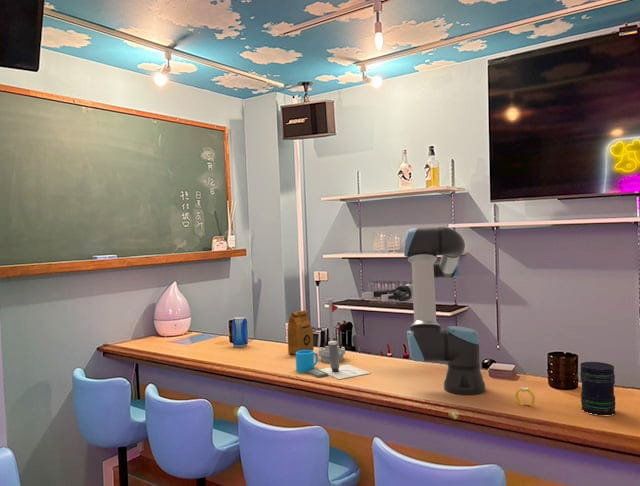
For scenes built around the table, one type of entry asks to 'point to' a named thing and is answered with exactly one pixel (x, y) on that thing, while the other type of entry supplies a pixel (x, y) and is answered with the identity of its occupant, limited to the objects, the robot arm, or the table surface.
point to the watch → (527, 391)
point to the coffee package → (299, 332)
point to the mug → (305, 360)
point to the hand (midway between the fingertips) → (371, 297)
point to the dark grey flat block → (317, 373)
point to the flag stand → (331, 337)
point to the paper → (345, 372)
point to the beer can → (240, 332)
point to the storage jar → (597, 388)
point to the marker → (333, 356)
